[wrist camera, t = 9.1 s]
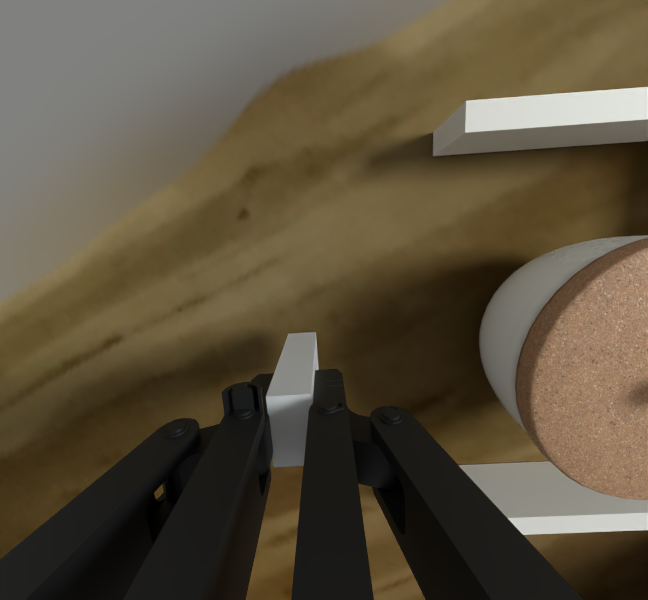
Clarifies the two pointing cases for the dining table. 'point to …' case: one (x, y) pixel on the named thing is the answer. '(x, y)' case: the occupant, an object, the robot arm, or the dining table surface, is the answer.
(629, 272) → the lidded jar
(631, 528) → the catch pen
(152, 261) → the dining table surface
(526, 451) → the dining table surface
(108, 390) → the dining table surface
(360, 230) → the dining table surface
